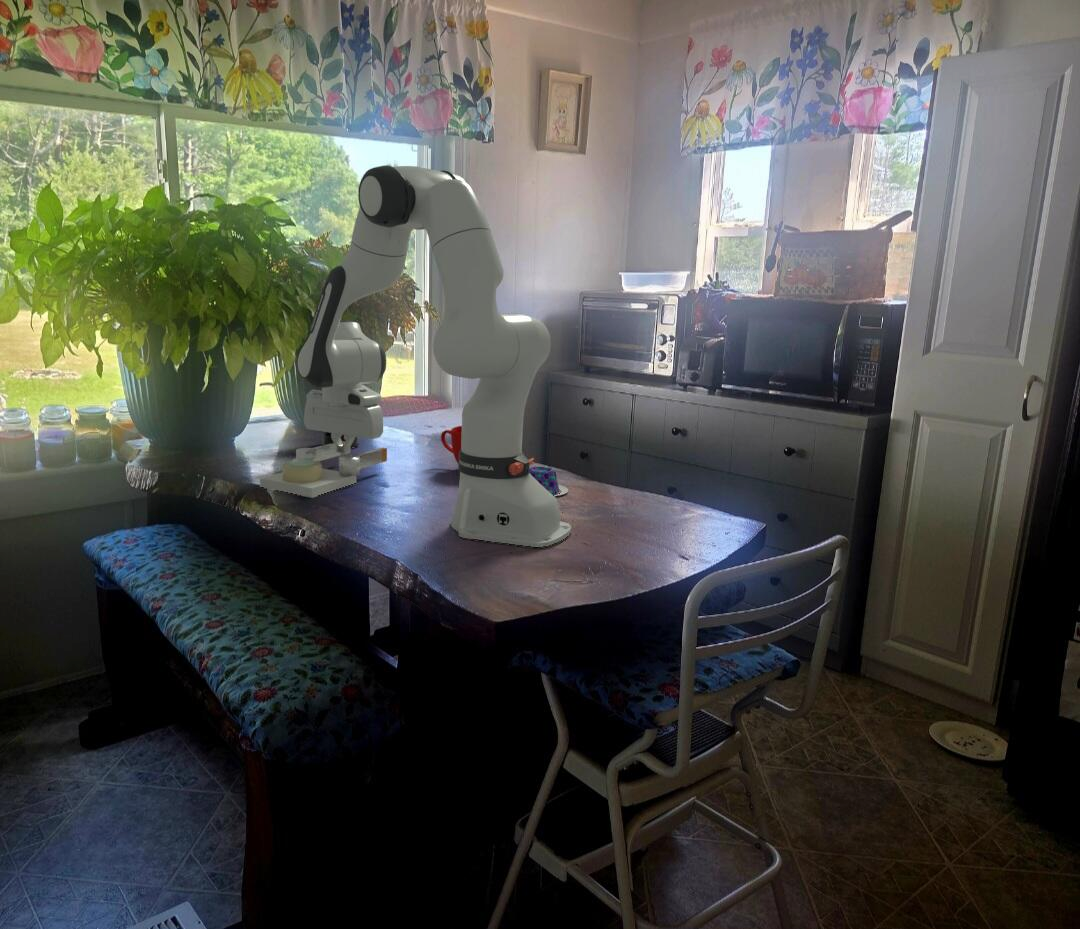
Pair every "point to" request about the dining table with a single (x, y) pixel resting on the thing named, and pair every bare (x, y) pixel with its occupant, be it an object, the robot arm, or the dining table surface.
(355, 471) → the near knob
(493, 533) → the robot arm
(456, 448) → the ceramic cup
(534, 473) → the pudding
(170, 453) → the dining table surface
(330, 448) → the far knob
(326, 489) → the base
